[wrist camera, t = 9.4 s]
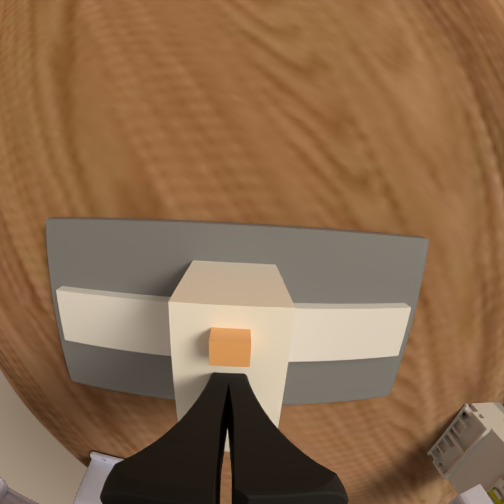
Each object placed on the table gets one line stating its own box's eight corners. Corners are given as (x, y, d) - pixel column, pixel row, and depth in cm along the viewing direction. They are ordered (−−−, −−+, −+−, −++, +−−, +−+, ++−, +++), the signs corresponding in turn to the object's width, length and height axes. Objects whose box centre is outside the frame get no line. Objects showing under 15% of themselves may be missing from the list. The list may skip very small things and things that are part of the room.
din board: (76, 374, 19) (67, 386, 17) (53, 217, 16) (38, 220, 14) (384, 388, 20) (392, 401, 18) (420, 236, 17) (436, 241, 16)
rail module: (194, 380, 18) (178, 462, 11) (192, 260, 16) (161, 312, 9) (264, 383, 18) (275, 466, 11) (275, 264, 16) (300, 319, 9)
